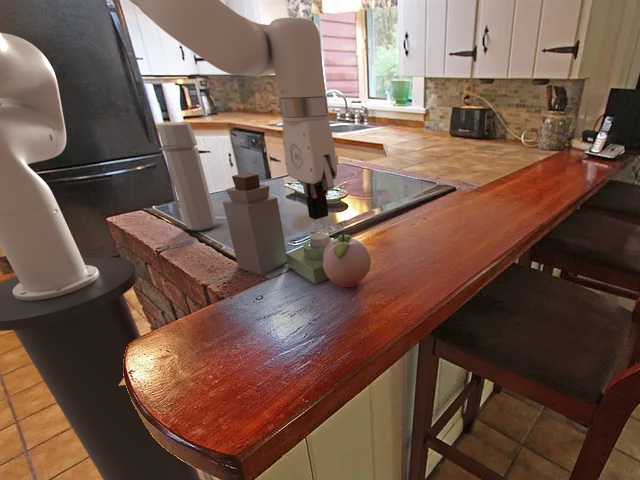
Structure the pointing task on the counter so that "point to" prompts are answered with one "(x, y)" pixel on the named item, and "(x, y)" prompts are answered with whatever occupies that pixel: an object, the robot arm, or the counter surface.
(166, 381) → the counter surface
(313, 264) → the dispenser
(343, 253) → the decorative fruit
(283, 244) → the perfume bottle
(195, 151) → the water bottle
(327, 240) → the beige button cap
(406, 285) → the counter surface
